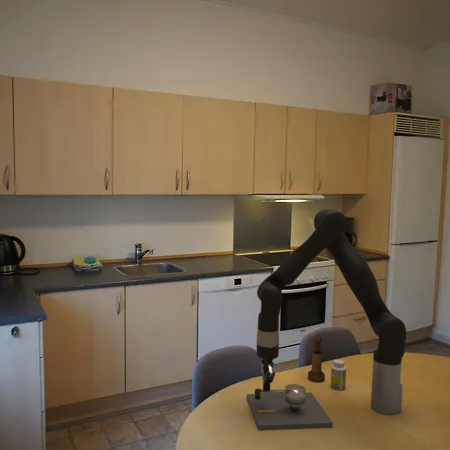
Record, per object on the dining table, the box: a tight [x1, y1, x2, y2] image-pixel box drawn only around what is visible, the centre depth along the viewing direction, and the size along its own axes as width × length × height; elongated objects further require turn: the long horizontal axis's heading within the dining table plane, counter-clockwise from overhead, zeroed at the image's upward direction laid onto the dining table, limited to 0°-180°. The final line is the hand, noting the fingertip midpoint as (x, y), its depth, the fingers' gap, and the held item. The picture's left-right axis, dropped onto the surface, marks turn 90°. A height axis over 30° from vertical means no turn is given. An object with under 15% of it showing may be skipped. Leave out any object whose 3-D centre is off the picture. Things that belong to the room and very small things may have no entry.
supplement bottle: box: [330, 359, 347, 391], centre depth 174 cm, size 6×6×10 cm
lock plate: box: [246, 391, 334, 431], centre depth 153 cm, size 24×22×2 cm
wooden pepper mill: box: [307, 334, 326, 383], centre depth 181 cm, size 7×6×18 cm
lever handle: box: [254, 383, 307, 412], centre depth 151 cm, size 17×7×7 cm, turn 93°
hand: (266, 392), depth 153 cm, fingers closed
